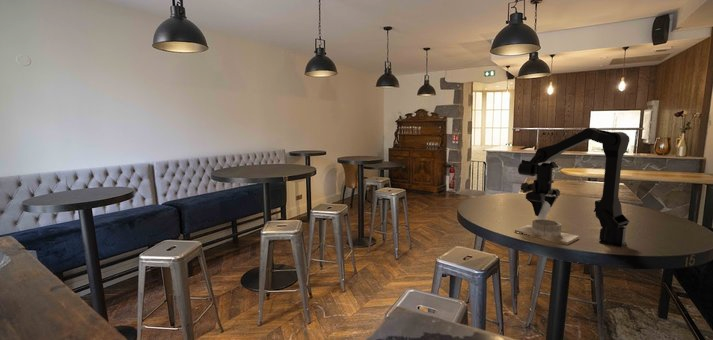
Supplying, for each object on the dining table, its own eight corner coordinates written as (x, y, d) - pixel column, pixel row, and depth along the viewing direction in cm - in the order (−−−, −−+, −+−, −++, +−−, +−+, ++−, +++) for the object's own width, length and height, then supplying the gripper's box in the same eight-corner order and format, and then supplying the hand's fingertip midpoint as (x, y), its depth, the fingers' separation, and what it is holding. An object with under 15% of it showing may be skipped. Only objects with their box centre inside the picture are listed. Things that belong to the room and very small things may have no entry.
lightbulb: (542, 228, 140) (543, 202, 139) (529, 224, 146) (531, 199, 145) (552, 226, 143) (554, 201, 141) (540, 223, 148) (541, 198, 147)
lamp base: (578, 238, 128) (579, 225, 127) (567, 244, 121) (568, 231, 120) (527, 227, 142) (528, 215, 142) (514, 232, 136) (515, 220, 135)
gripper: (534, 173, 154) (532, 207, 156) (513, 177, 142) (512, 213, 144) (561, 176, 145) (559, 212, 147) (541, 180, 134) (539, 219, 136)
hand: (541, 214), depth 144 cm, fingers open, 9 cm apart
